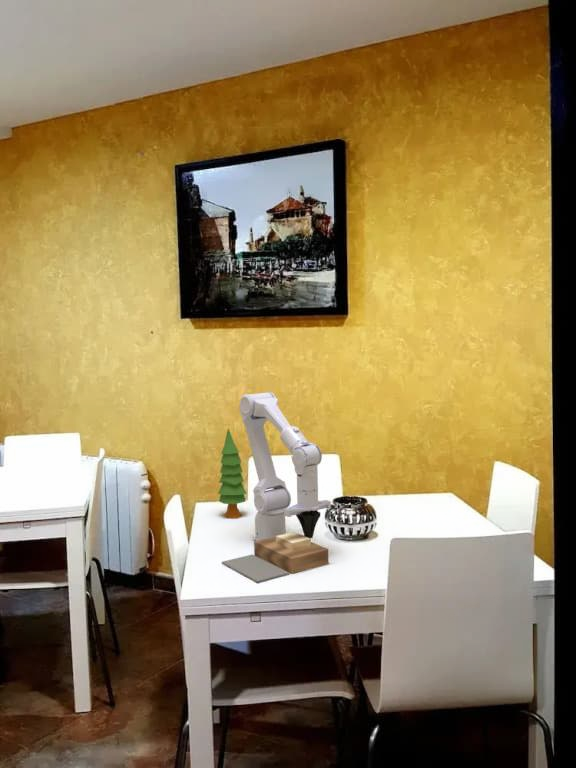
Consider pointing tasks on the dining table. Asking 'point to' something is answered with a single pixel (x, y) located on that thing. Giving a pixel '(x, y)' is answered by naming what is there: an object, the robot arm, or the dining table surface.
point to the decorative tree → (231, 478)
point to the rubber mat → (255, 568)
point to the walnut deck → (291, 555)
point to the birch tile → (293, 541)
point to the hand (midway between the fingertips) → (308, 537)
